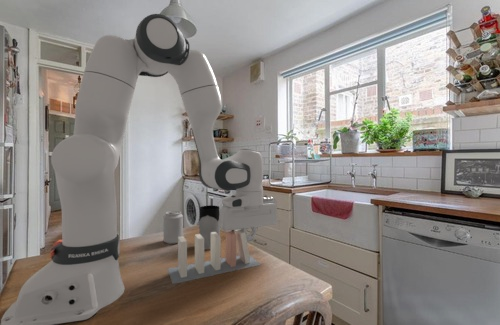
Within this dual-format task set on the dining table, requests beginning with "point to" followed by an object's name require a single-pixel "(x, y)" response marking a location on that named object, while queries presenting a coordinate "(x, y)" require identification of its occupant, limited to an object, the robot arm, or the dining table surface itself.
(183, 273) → the domino
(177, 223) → the can
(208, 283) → the dining table surface
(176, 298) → the dining table surface
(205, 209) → the grey mug
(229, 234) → the domino
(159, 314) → the dining table surface
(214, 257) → the domino
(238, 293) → the dining table surface
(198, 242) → the domino
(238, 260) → the mat
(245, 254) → the domino
